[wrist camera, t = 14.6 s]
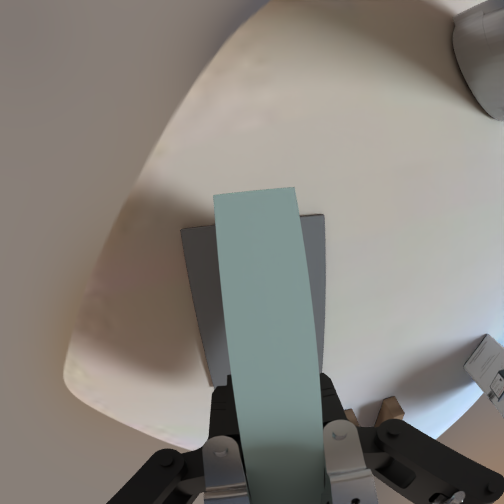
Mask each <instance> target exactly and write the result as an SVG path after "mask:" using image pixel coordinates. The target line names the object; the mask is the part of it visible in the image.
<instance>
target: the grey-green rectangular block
mask: <svg viewBox="0 0 504 504" xmlns="http://www.w3.org/2000/svg"><path fill="white" fill-rule="evenodd" d="M213 198H214V212H215V225H216V237H217V249H218V260H219V271H220V281H221V291H222V301H223V310H224V319H225V328H226V336H227V345H228V353H229V361H230V368H231V376H232V383H233V391H234V398H235V405H236V412H237V418H238V425H239V431H240V437H241V444H242V450H243V456H244V462H245V467H246V473H247V479H248V484H249V489H250V495H251V500H252V503H253V504H320V502H321V493H323V491H324V449H323V424H322V405H321V390H320V377H319V365H318V353H317V343H316V333H315V324H314V315H313V306H312V298H311V290H310V282H309V275H308V268H307V261H306V254H305V247H304V241H303V234H302V228H301V222H300V216H299V210H298V204H297V199H296V193H295V188H294V187H289V188H277V189H266V190H256V191H246V192H237V193H228V194H220V195H213Z"/></svg>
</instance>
